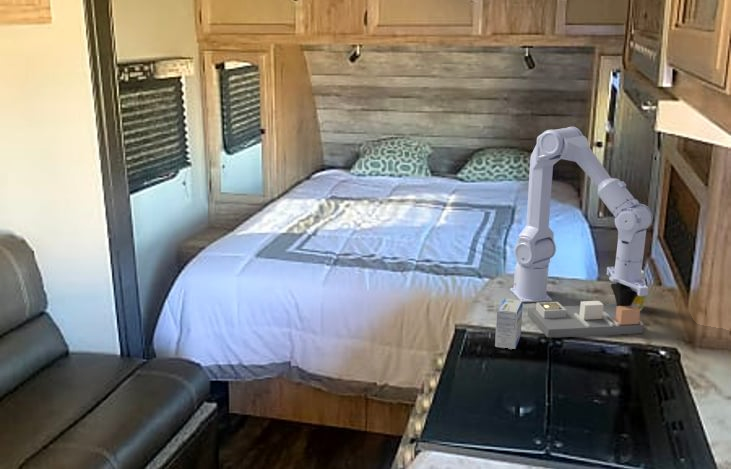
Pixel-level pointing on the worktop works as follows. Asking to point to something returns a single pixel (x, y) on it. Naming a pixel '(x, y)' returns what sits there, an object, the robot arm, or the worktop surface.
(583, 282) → the worktop surface
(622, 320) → the salmon orange block
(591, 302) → the ivory rectangular block
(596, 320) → the switch panel
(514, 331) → the medicine box
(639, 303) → the supplement bottle
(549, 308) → the brass button
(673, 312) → the worktop surface
